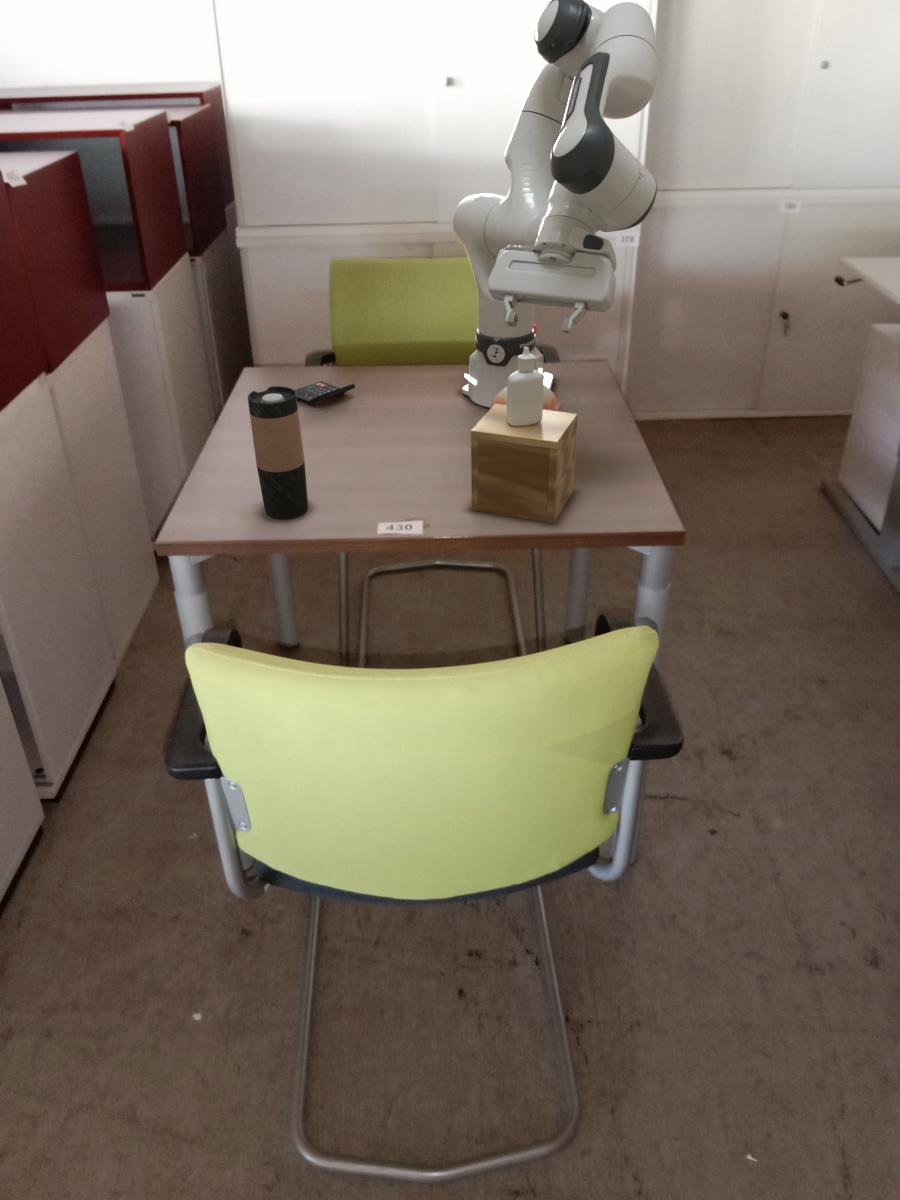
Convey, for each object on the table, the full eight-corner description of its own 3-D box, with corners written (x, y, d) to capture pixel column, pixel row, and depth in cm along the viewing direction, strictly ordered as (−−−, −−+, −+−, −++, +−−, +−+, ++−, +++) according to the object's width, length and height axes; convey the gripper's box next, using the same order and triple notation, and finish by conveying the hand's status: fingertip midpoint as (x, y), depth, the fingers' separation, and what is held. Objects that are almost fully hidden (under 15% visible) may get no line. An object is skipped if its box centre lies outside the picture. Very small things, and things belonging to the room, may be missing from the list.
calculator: (321, 384, 203) (320, 371, 202) (356, 397, 197) (355, 384, 195) (287, 396, 198) (285, 382, 196) (321, 410, 191) (320, 396, 189)
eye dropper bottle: (507, 416, 150) (508, 342, 143) (542, 417, 149) (545, 343, 142) (505, 426, 146) (506, 352, 139) (541, 427, 145) (544, 352, 139)
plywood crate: (495, 479, 162) (495, 403, 154) (573, 491, 158) (577, 413, 150) (471, 510, 153) (470, 430, 145) (553, 523, 148) (557, 442, 141)
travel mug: (302, 522, 150) (288, 404, 139) (257, 519, 151) (239, 402, 141) (315, 500, 157) (303, 386, 146) (272, 498, 158) (256, 384, 147)
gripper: (496, 232, 148) (471, 310, 146) (620, 242, 140) (596, 325, 138) (506, 255, 154) (482, 330, 152) (626, 266, 146) (603, 345, 144)
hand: (537, 328), depth 145 cm, fingers open, 8 cm apart
